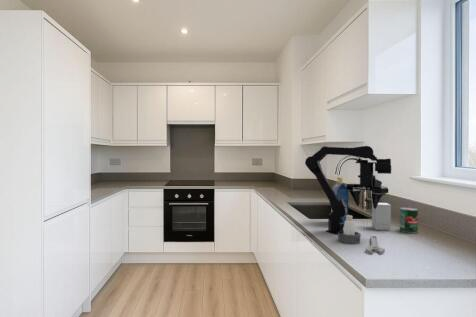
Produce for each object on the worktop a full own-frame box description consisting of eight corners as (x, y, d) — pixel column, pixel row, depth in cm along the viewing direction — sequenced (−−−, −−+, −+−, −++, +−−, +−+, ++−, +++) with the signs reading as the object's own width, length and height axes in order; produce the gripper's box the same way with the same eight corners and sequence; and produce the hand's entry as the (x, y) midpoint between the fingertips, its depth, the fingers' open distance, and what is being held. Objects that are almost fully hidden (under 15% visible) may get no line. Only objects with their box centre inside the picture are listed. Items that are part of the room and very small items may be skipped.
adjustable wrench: (370, 239, 139) (370, 235, 139) (386, 240, 136) (386, 236, 136) (365, 254, 117) (365, 249, 117) (383, 256, 114) (384, 252, 114)
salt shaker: (344, 238, 137) (344, 213, 137) (357, 240, 134) (357, 215, 134) (340, 241, 133) (340, 215, 133) (353, 243, 130) (353, 217, 130)
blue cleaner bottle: (336, 226, 160) (336, 178, 160) (331, 221, 172) (331, 176, 172) (348, 227, 160) (348, 178, 159) (342, 222, 172) (342, 176, 171)
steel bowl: (333, 240, 135) (334, 232, 135) (347, 237, 139) (347, 229, 139) (350, 245, 127) (350, 236, 127) (364, 242, 132) (364, 233, 132)
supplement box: (391, 230, 152) (391, 204, 152) (375, 229, 154) (375, 204, 154) (387, 227, 160) (387, 202, 160) (371, 226, 161) (371, 202, 161)
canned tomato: (405, 228, 157) (405, 206, 157) (421, 231, 150) (421, 209, 150) (396, 230, 153) (396, 208, 153) (412, 233, 146) (412, 210, 146)
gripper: (396, 173, 139) (396, 208, 139) (361, 171, 155) (361, 203, 155) (380, 174, 133) (380, 210, 134) (345, 172, 150) (345, 204, 150)
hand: (366, 207), depth 143 cm, fingers open, 9 cm apart
